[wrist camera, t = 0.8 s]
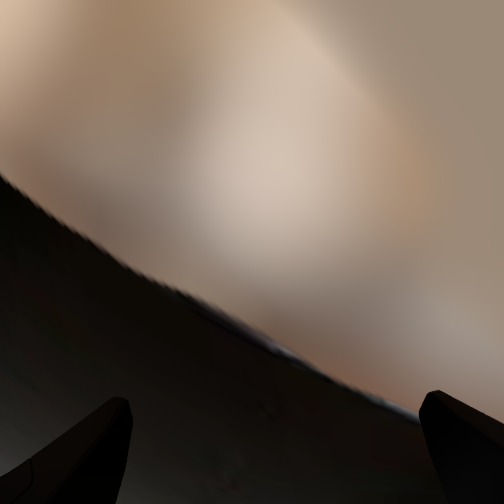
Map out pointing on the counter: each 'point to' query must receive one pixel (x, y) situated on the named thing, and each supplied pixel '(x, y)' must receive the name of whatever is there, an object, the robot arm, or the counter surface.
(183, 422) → the counter surface
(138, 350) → the counter surface
